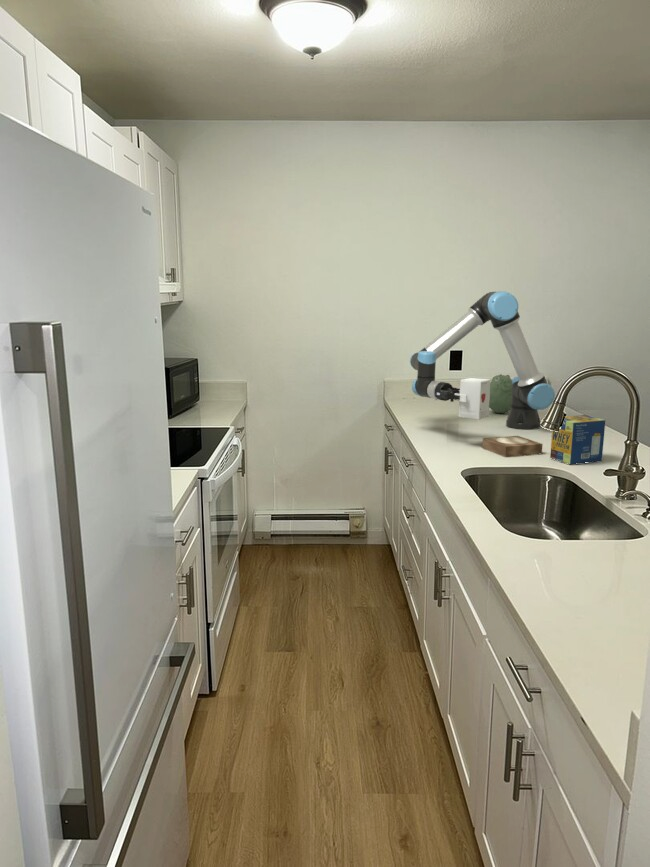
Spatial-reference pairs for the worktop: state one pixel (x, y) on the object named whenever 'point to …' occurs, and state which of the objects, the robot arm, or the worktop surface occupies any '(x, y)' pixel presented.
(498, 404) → the cabbage
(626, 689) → the worktop surface
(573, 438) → the protein box
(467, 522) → the worktop surface
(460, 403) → the supplement box
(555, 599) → the worktop surface
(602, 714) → the worktop surface
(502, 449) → the pedestal
